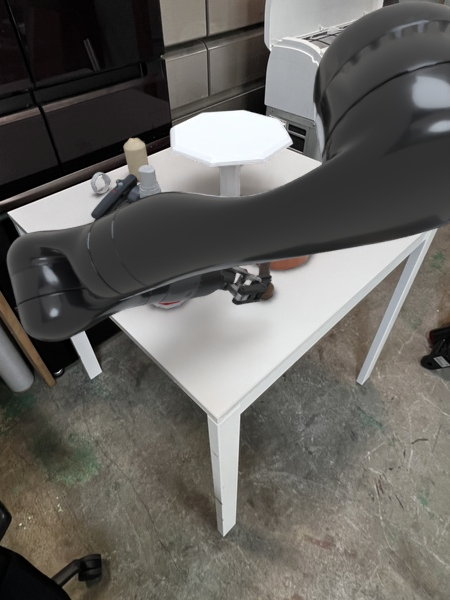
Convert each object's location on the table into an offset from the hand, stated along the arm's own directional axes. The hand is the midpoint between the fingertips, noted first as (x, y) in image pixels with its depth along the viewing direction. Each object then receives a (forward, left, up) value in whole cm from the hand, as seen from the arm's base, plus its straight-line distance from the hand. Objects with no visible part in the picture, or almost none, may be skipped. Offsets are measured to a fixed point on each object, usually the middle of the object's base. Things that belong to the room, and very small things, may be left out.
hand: (249, 264), depth 61 cm
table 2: (+13, -34, -10) cm, 37 cm away
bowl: (-2, -18, -10) cm, 20 cm away
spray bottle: (+15, +1, -10) cm, 18 cm away
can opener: (+38, -23, -10) cm, 46 cm away
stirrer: (-2, -4, -10) cm, 11 cm away
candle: (+40, -39, -10) cm, 57 cm away
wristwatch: (+46, -29, -10) cm, 55 cm away
